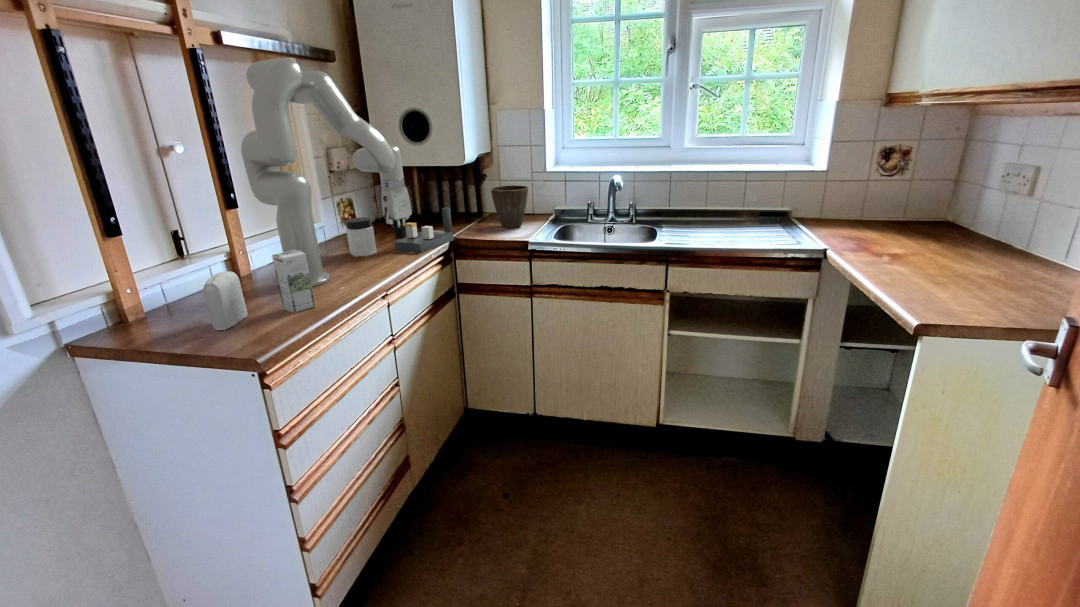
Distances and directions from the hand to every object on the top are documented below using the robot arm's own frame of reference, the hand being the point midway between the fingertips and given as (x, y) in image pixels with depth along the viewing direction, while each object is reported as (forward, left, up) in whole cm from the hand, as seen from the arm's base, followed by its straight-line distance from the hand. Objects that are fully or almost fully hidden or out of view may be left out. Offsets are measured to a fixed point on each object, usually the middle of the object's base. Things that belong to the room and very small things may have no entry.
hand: (400, 238), depth 181 cm
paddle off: (+6, -7, -1) cm, 9 cm away
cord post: (+19, -6, -5) cm, 21 cm away
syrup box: (-55, -11, -5) cm, 56 cm away
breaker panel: (+9, -3, -5) cm, 11 cm away
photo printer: (-68, -3, -5) cm, 68 cm away
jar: (-7, +12, -5) cm, 14 cm away
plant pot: (+45, -19, -5) cm, 50 cm away
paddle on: (+6, 0, -1) cm, 6 cm away
